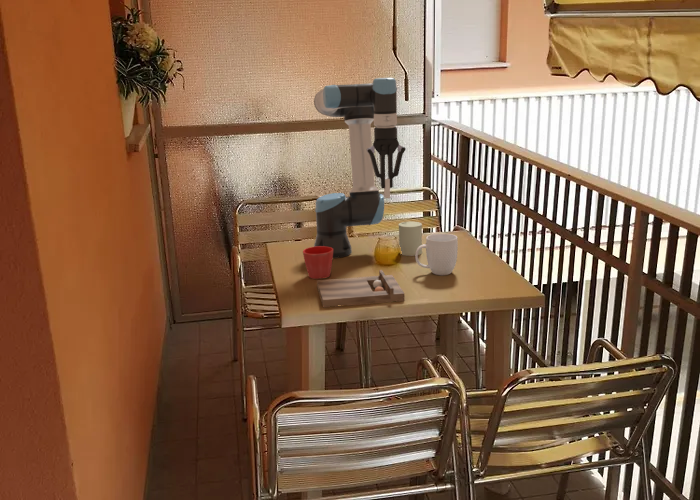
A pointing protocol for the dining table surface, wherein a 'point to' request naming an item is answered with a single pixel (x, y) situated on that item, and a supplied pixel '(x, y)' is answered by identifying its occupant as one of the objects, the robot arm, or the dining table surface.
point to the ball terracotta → (378, 289)
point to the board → (359, 290)
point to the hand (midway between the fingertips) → (387, 197)
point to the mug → (440, 253)
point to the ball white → (377, 283)
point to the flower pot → (318, 261)
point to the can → (410, 237)
